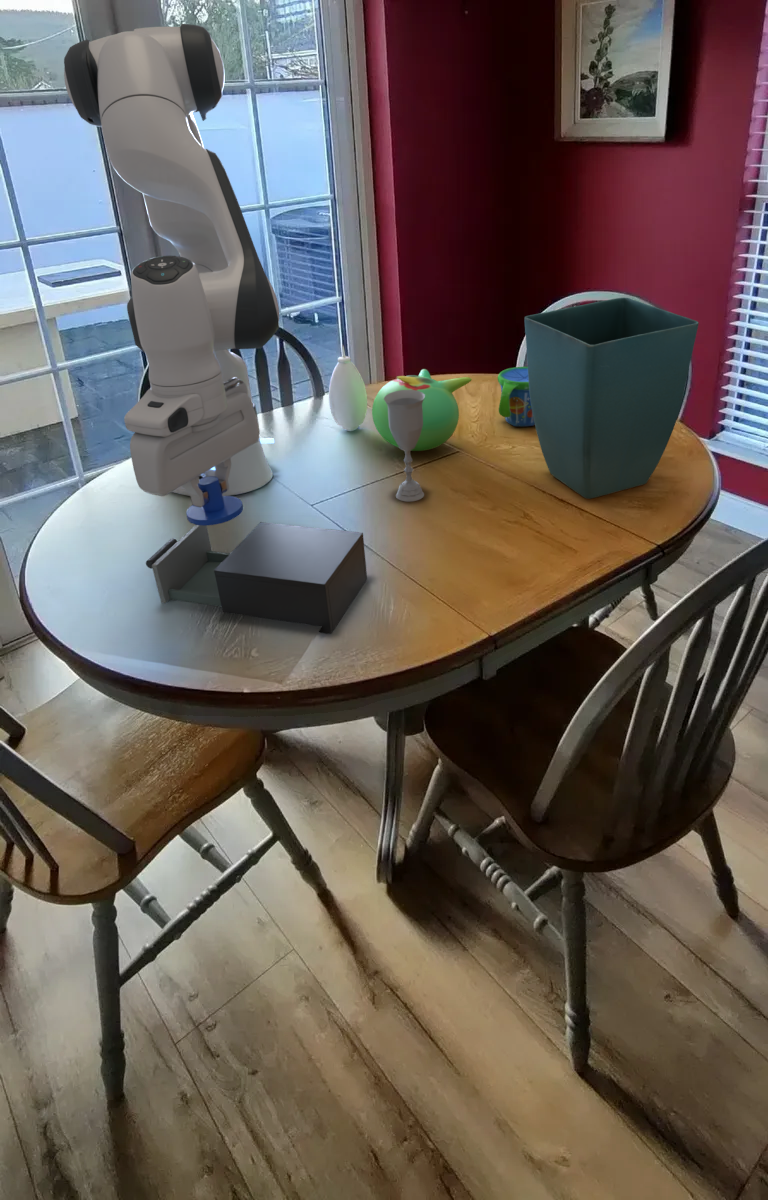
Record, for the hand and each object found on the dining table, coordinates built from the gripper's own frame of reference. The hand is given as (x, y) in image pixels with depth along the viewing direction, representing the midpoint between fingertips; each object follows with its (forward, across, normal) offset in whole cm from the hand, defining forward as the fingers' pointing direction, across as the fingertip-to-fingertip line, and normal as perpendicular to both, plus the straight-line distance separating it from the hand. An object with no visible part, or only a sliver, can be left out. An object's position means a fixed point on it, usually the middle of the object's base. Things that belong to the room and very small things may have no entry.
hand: (211, 498), depth 111 cm
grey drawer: (+17, -3, -5) cm, 18 cm away
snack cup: (+18, -82, +10) cm, 85 cm away
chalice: (+18, -42, +5) cm, 46 cm away
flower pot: (+18, -61, +33) cm, 71 cm away
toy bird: (+18, -63, -4) cm, 65 cm away
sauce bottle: (+17, -65, -22) cm, 71 cm away
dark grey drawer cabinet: (+18, -6, +7) cm, 20 cm away
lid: (+2, 0, 0) cm, 2 cm away
